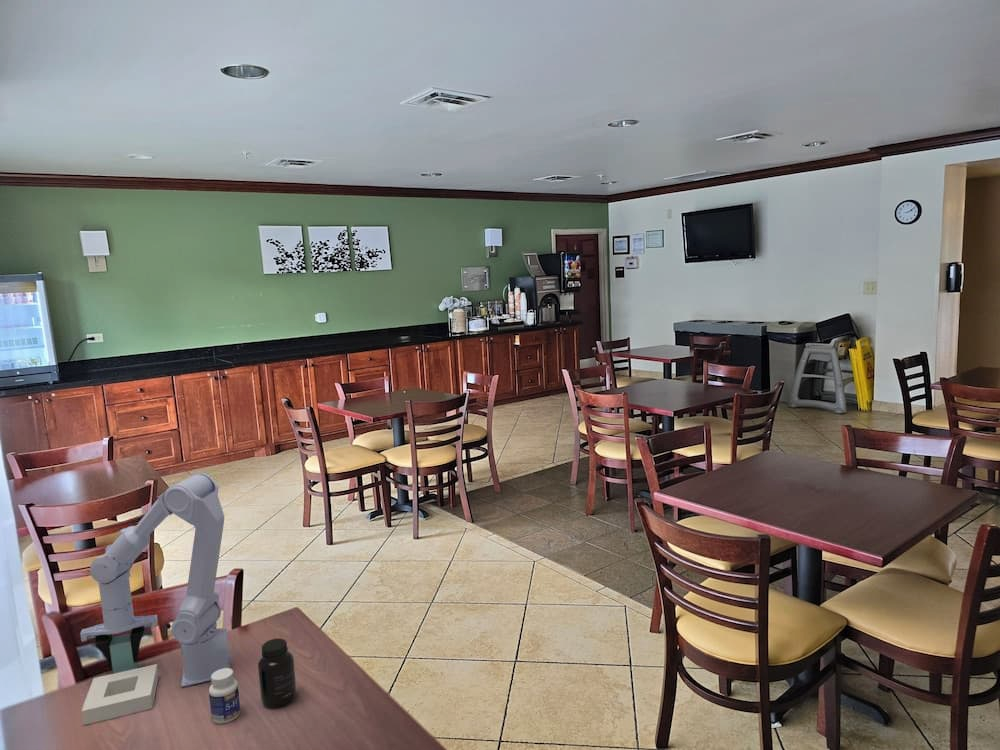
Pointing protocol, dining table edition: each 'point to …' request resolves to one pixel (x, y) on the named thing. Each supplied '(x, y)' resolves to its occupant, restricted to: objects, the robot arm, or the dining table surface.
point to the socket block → (107, 706)
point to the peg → (122, 654)
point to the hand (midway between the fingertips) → (124, 662)
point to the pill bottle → (224, 696)
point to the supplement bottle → (276, 674)
